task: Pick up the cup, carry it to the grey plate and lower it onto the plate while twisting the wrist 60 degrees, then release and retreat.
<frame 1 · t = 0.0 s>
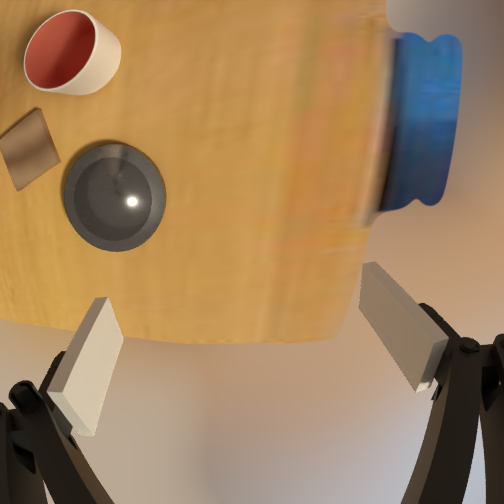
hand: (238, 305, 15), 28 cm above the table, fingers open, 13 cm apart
cup: (91, 62, 31), on the table
grey plate: (114, 197, 39), on the table
oak coaster: (29, 150, 34), on the table
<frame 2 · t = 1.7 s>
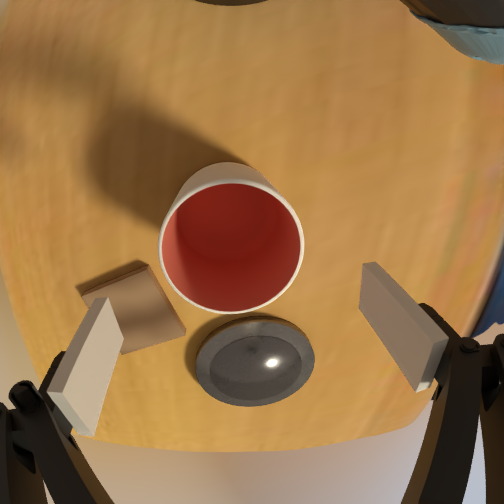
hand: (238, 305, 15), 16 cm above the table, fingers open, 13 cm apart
cup: (226, 211, 30), on the table
grey plate: (254, 362, 38), on the table
oak coaster: (134, 310, 33), on the table
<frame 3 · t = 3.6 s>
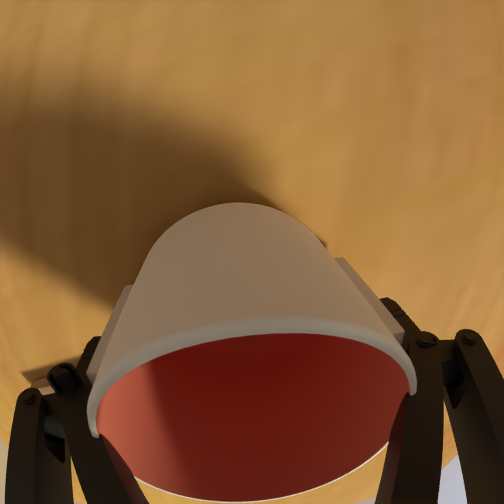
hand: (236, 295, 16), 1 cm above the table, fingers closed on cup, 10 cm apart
cup: (235, 285, 17), on the table, touching gripper
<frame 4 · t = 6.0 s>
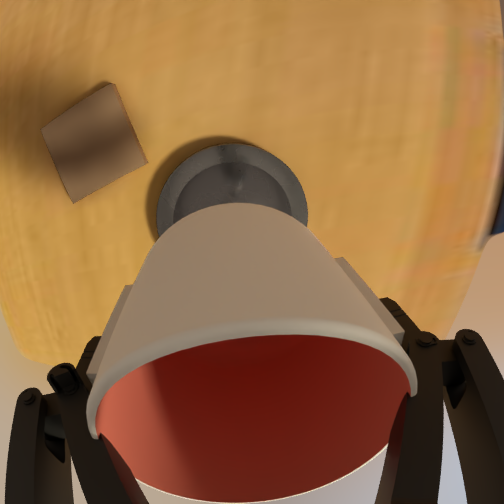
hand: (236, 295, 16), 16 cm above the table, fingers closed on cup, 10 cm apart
cup: (235, 285, 17), point 16 cm above the table, touching gripper
grey plate: (232, 216, 31), on the table
oak coaster: (93, 143, 26), on the table
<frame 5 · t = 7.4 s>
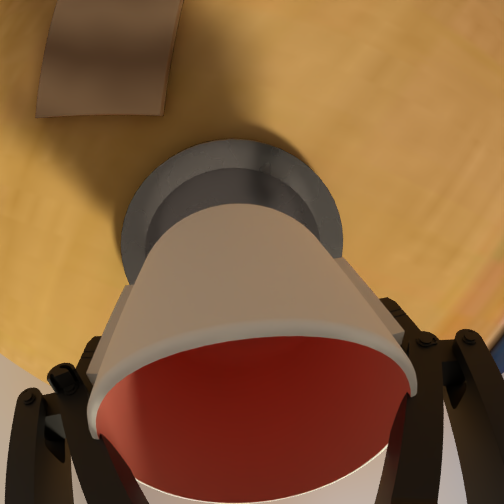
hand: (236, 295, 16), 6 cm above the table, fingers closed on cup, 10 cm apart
cup: (235, 286, 17), point 5 cm above the table, touching gripper
grey plate: (232, 248, 21), on the table
oak coaster: (107, 50, 15), on the table
when the fingers open (4 cm above the table, at t = 8.4 s): cup drops 1 cm, resting on grey plate.
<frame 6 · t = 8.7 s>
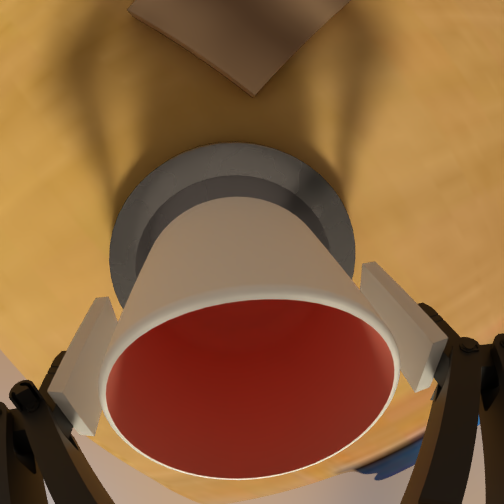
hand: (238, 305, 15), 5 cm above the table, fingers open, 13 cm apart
cup: (234, 275, 18), point 2 cm above the table, touching grey plate
grey plate: (233, 264, 19), on the table
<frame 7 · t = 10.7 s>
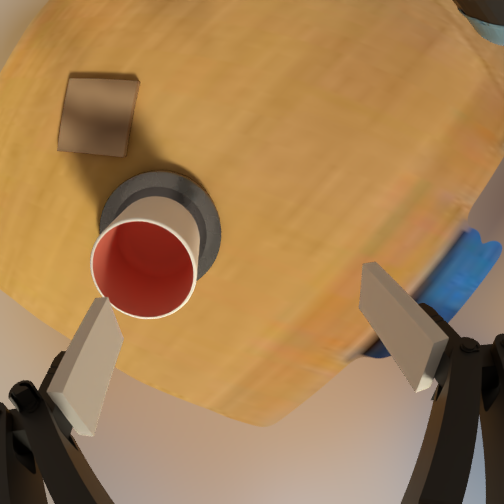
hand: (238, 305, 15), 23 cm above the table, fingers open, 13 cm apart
cup: (158, 235, 35), point 2 cm above the table, touching grey plate
grey plate: (160, 231, 37), on the table
oak coaster: (97, 116, 30), on the table
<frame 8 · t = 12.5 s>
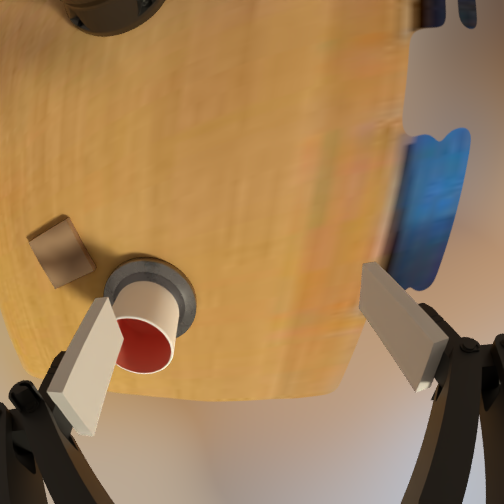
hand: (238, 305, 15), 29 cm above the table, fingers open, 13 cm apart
cup: (148, 305, 45), point 2 cm above the table, touching grey plate
grey plate: (150, 300, 47), on the table
oak coaster: (62, 253, 42), on the table
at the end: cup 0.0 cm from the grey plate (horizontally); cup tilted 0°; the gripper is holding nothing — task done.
